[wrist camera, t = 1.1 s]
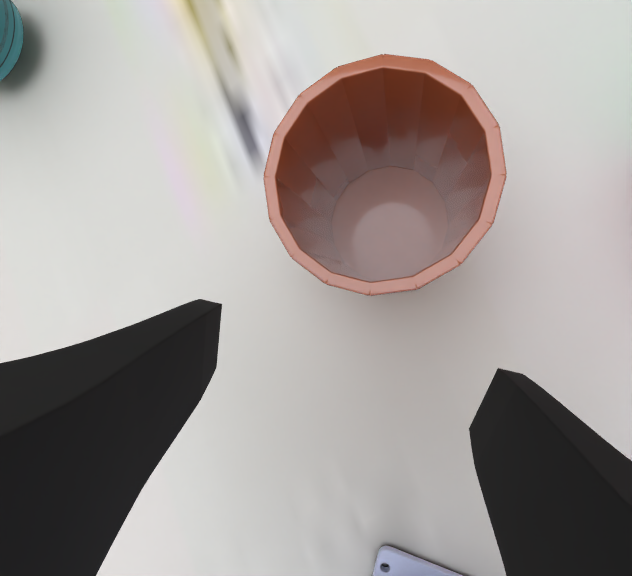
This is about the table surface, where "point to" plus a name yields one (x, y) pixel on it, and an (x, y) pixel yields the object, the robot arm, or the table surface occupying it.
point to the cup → (384, 174)
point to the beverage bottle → (9, 36)
